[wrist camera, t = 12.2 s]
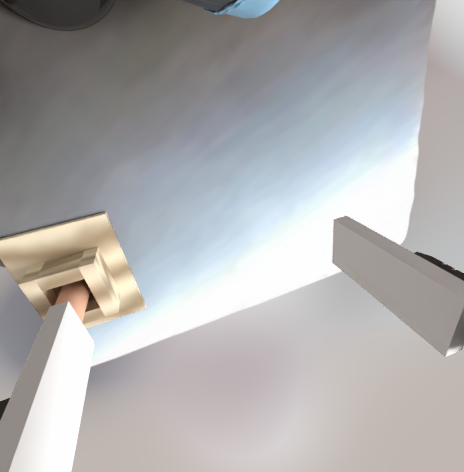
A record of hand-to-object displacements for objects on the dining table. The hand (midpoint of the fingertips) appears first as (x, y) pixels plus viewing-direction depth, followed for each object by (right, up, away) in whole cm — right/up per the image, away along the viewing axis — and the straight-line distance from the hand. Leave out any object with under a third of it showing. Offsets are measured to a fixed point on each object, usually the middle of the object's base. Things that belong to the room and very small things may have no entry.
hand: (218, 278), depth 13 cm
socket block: (-25, -5, +32) cm, 41 cm away
